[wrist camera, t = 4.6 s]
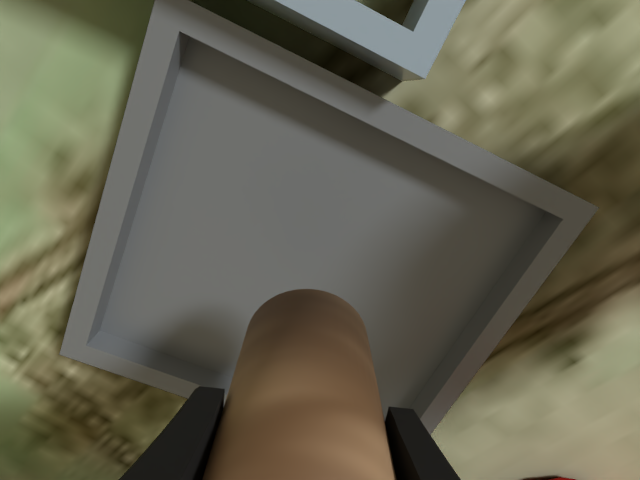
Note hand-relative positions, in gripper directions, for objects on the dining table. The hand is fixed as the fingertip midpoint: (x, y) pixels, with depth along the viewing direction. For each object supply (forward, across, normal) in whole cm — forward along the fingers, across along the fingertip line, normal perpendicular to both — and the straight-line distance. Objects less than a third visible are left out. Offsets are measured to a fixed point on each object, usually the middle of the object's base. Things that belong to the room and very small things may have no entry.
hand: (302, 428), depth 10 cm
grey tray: (+10, 0, 0) cm, 10 cm away
